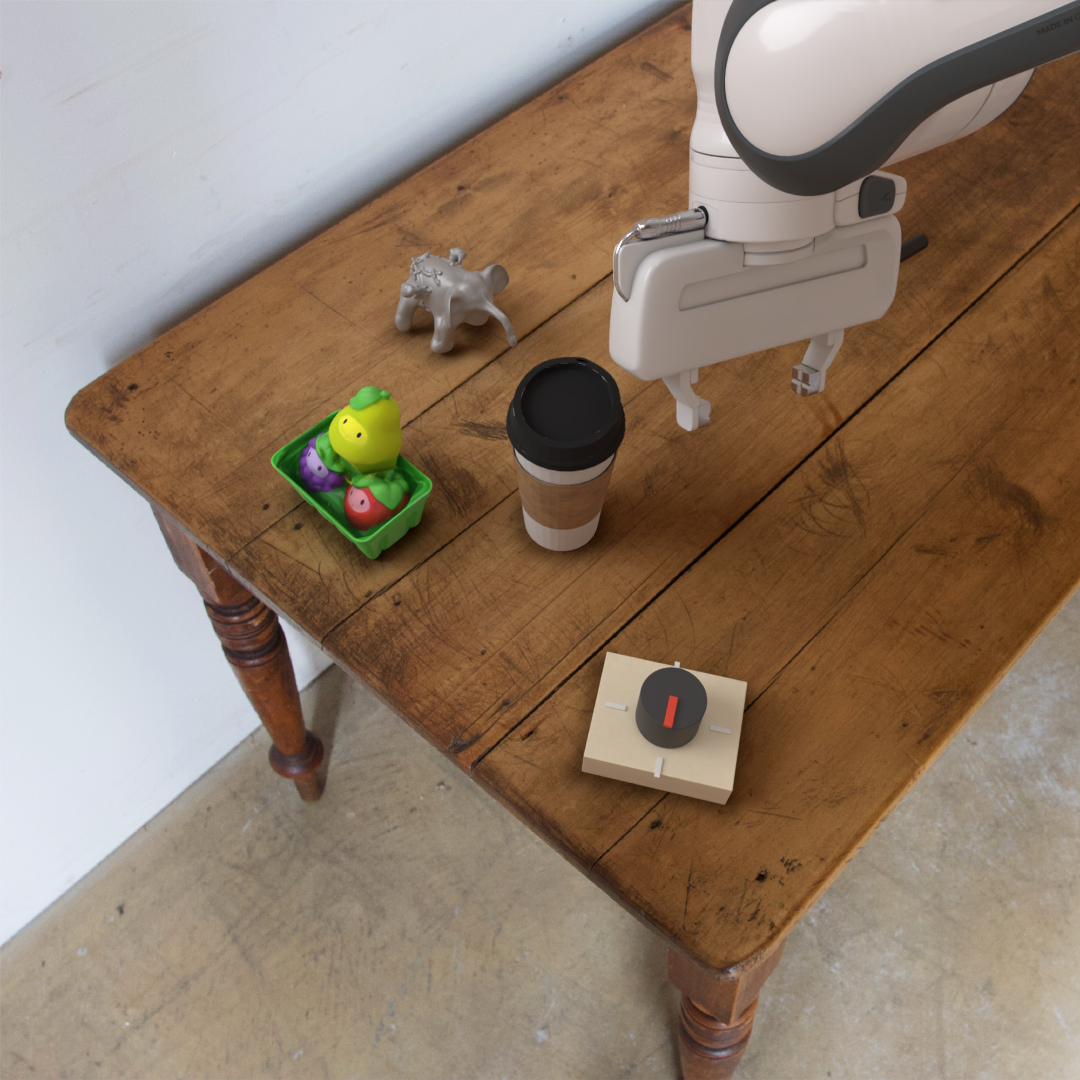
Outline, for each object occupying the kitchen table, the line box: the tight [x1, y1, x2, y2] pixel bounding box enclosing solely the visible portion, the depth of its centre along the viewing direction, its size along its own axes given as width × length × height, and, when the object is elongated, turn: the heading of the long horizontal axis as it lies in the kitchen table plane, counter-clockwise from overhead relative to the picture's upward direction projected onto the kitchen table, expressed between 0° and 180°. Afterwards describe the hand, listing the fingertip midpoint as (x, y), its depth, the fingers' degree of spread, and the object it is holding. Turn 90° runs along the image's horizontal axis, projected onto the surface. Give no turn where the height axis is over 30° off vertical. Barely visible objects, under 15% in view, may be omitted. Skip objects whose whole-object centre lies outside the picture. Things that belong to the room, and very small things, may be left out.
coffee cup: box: [505, 356, 627, 552], centre depth 74 cm, size 8×8×15 cm
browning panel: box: [581, 651, 748, 805], centre depth 69 cm, size 10×9×3 cm
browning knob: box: [635, 667, 707, 748], centre depth 66 cm, size 4×4×4 cm
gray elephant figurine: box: [394, 246, 518, 354], centre depth 88 cm, size 9×12×8 cm
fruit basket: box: [270, 385, 433, 561], centre depth 76 cm, size 11×9×11 cm
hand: (751, 408), depth 66 cm, fingers open, 8 cm apart
